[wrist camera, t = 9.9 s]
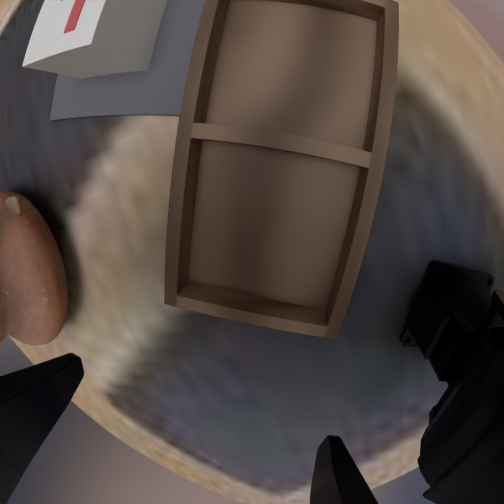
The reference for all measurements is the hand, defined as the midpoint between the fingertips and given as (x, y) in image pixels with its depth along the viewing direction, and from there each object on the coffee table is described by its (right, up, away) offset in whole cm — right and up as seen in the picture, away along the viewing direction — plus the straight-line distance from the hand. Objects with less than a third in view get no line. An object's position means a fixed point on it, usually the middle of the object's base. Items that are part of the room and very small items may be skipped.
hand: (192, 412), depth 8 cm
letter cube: (-7, +20, +5) cm, 22 cm away
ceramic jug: (-19, +4, +13) cm, 24 cm away
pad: (-7, +20, +6) cm, 22 cm away
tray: (+4, +11, +7) cm, 14 cm away
